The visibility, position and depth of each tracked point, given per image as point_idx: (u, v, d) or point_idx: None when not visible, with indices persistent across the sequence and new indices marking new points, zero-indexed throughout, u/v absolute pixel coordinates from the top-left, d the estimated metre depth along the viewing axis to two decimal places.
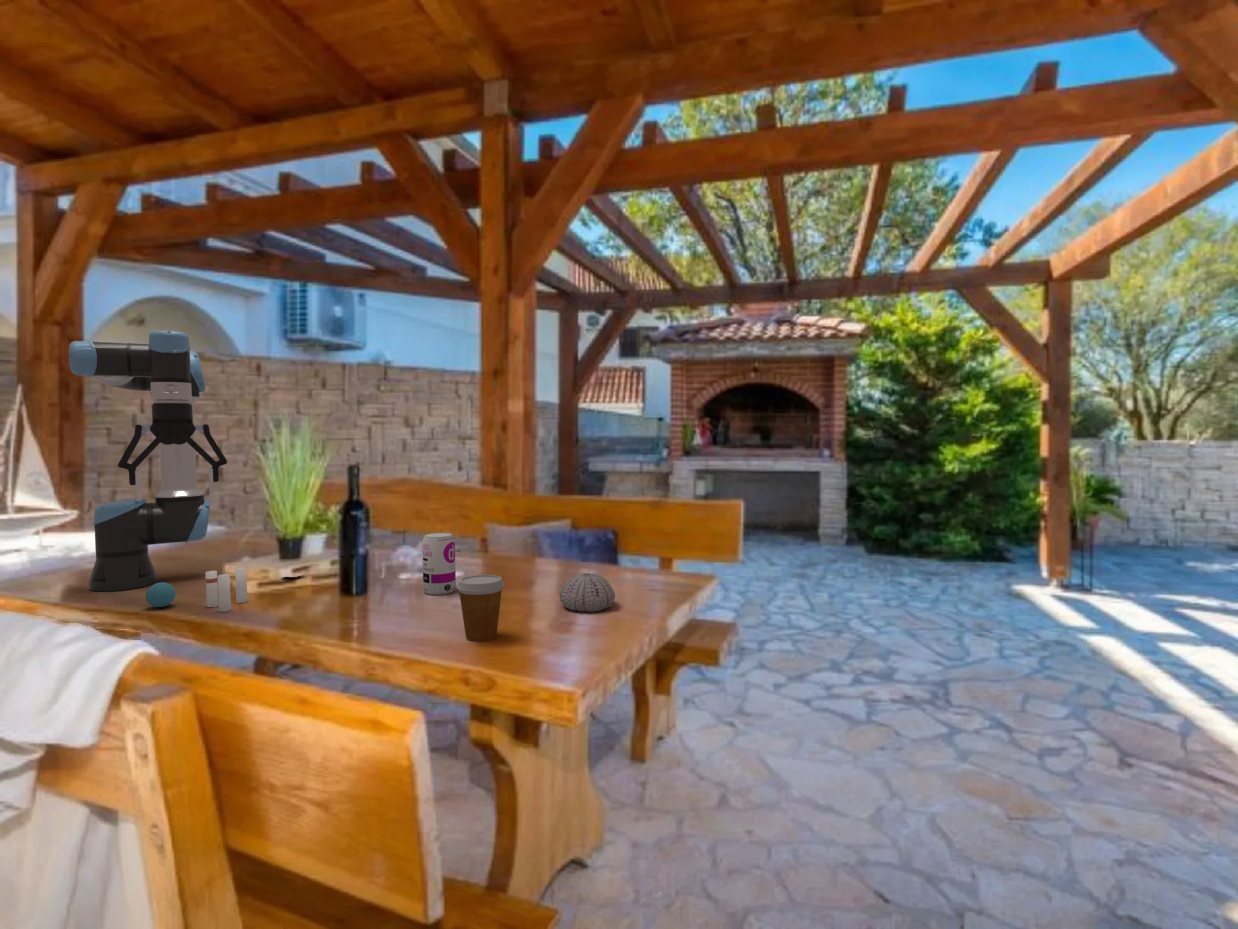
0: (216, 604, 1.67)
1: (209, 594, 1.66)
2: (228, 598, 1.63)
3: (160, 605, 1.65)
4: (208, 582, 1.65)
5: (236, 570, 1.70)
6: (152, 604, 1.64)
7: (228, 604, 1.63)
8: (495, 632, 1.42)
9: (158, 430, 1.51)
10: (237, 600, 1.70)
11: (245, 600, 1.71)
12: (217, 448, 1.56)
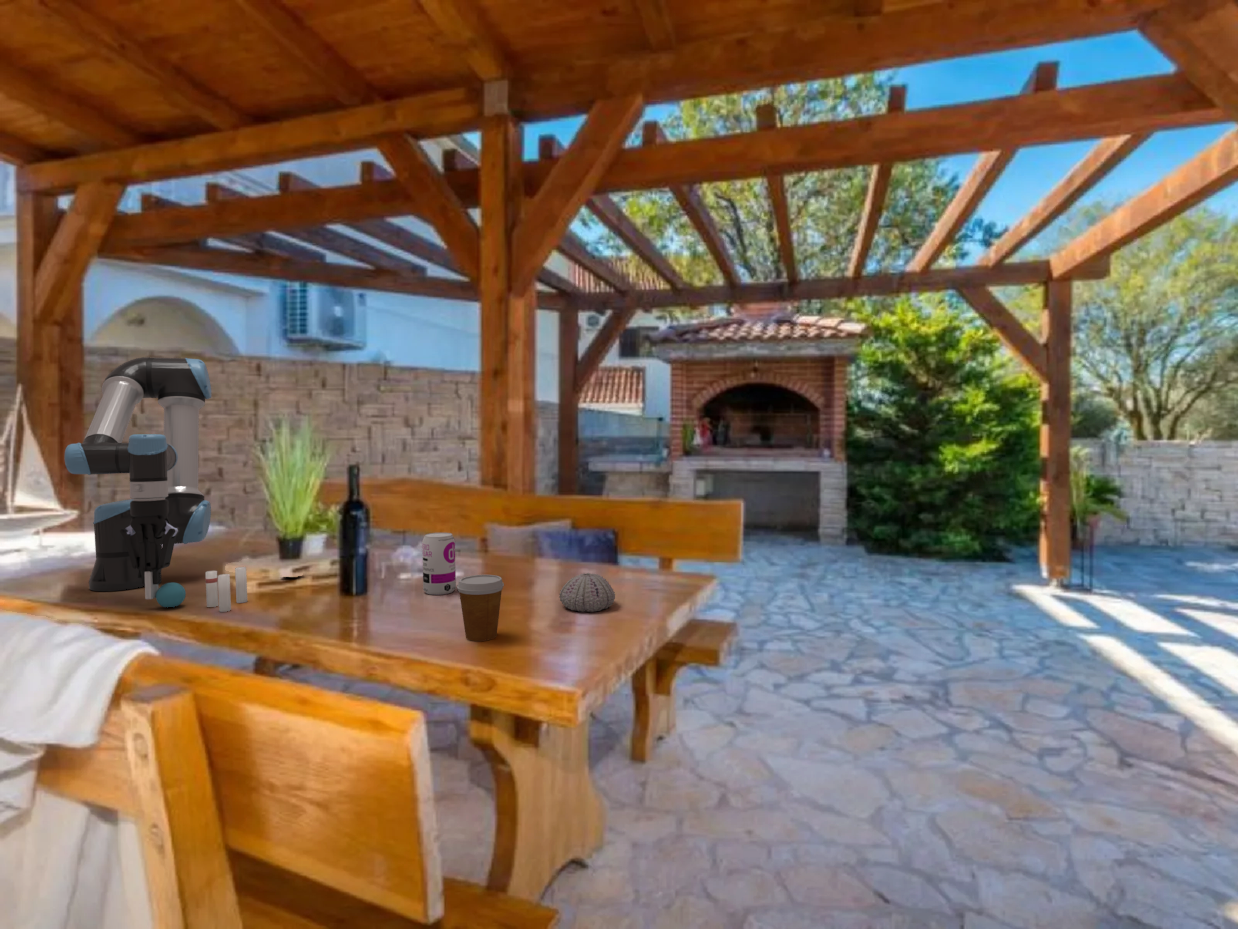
0: (216, 604, 1.67)
1: (209, 594, 1.66)
2: (228, 598, 1.63)
3: (165, 606, 1.65)
4: (208, 582, 1.65)
5: (236, 570, 1.70)
6: (159, 602, 1.64)
7: (228, 604, 1.63)
8: (495, 632, 1.42)
9: (136, 524, 1.63)
10: (237, 600, 1.70)
11: (245, 600, 1.71)
12: (164, 552, 1.63)
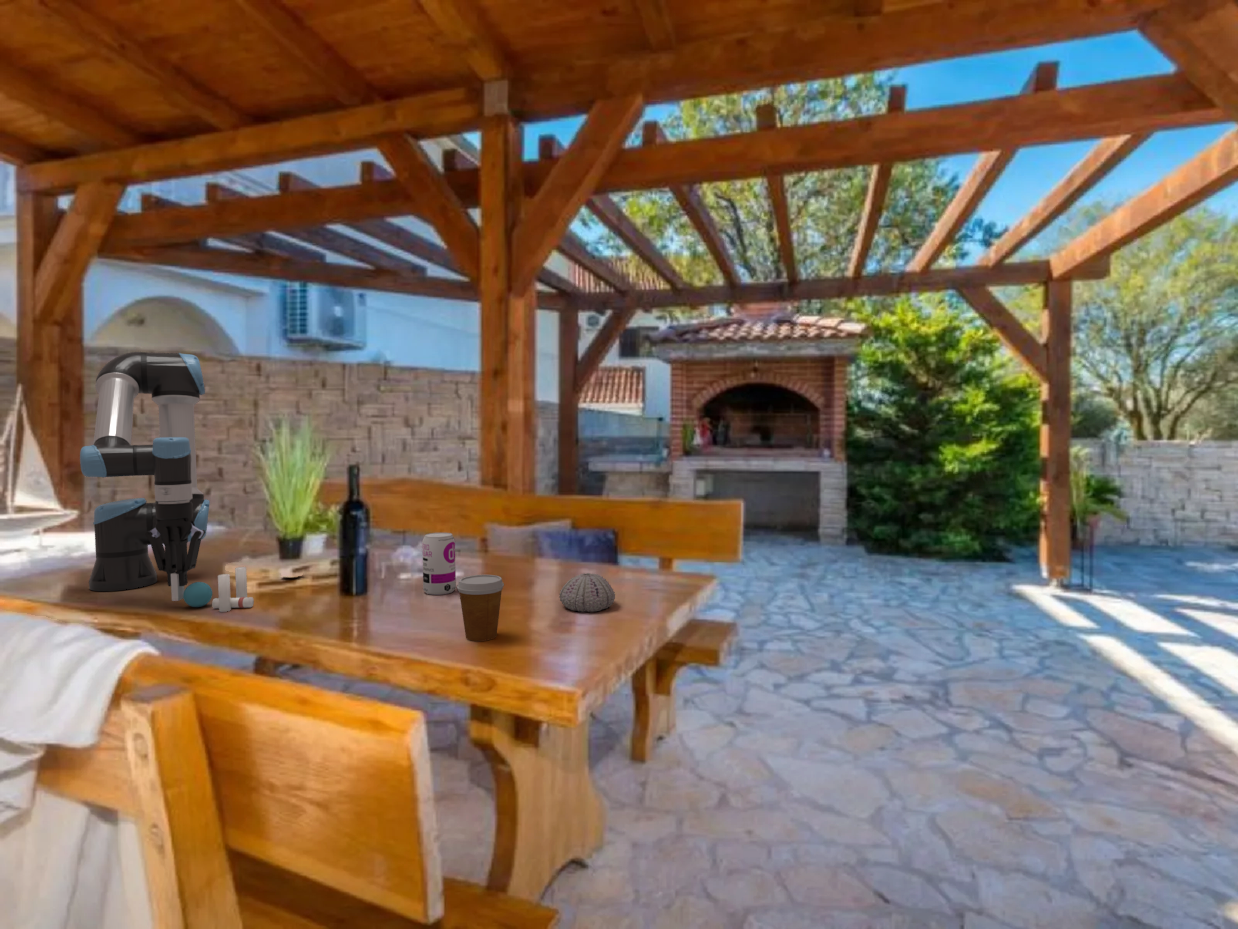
0: None
1: None
2: (228, 598, 1.63)
3: (184, 591, 1.65)
4: (241, 607, 1.66)
5: (236, 570, 1.70)
6: (189, 589, 1.64)
7: (228, 604, 1.63)
8: (495, 632, 1.42)
9: (161, 526, 1.64)
10: None
11: None
12: (191, 554, 1.65)
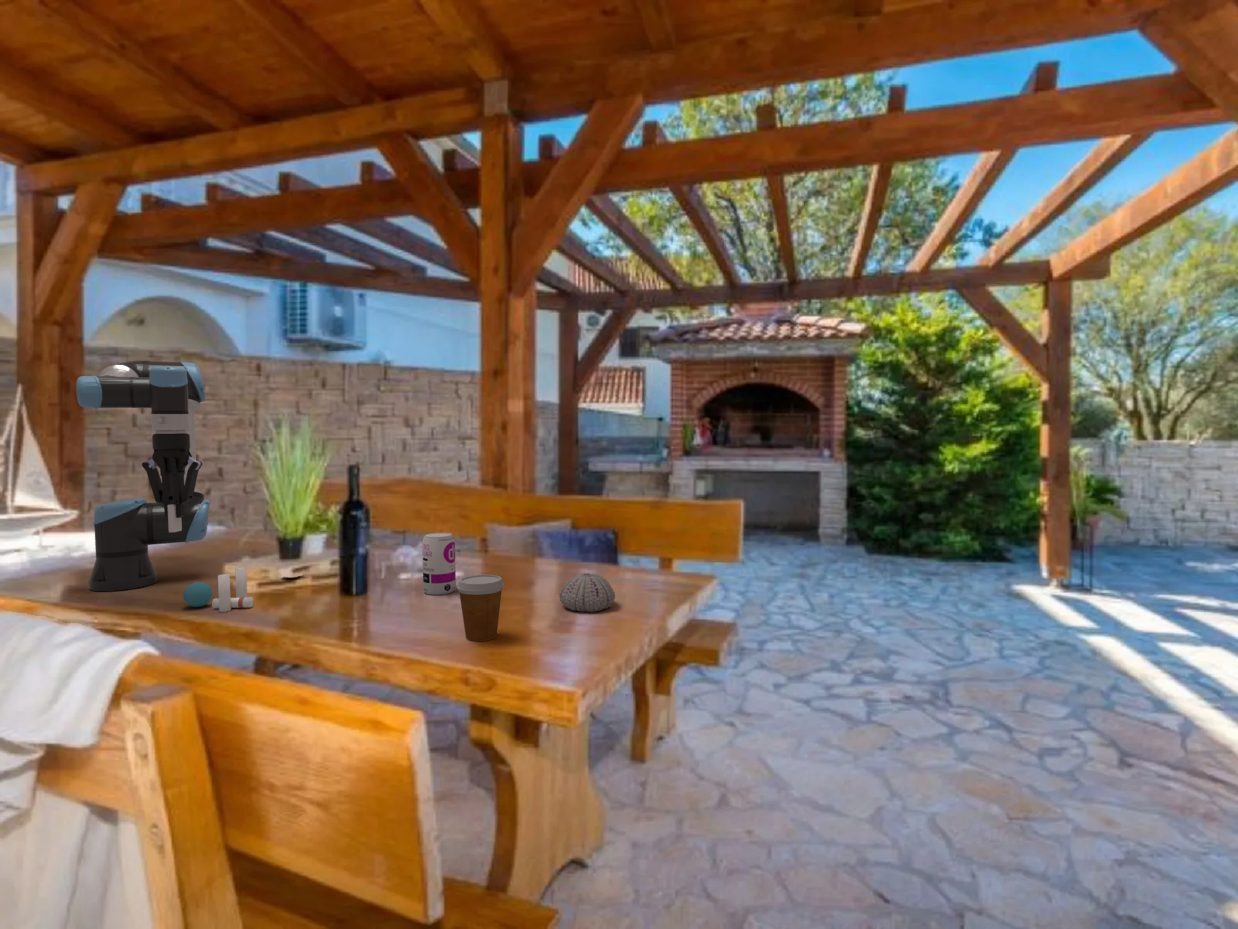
0: None
1: None
2: (228, 598, 1.63)
3: (184, 591, 1.65)
4: (241, 607, 1.66)
5: (236, 570, 1.70)
6: (189, 589, 1.64)
7: (228, 604, 1.63)
8: (495, 632, 1.42)
9: (158, 457, 1.63)
10: None
11: None
12: (188, 485, 1.64)
